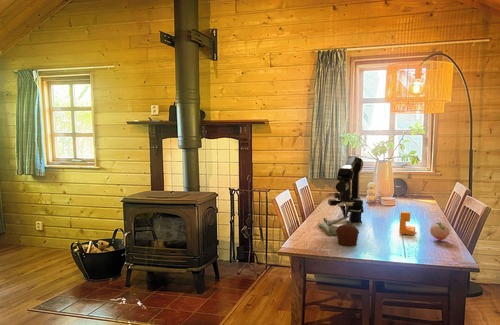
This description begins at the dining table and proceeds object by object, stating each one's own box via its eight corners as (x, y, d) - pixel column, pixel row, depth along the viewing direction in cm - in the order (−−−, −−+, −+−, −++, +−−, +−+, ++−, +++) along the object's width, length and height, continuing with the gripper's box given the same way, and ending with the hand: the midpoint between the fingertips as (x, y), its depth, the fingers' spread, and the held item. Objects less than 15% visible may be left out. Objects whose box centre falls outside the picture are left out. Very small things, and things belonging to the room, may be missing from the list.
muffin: (355, 240, 197) (355, 222, 196) (362, 247, 186) (362, 227, 185) (332, 241, 196) (333, 222, 196) (338, 247, 185) (338, 228, 184)
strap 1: (328, 226, 211) (327, 224, 211) (327, 225, 214) (326, 223, 214) (348, 217, 212) (348, 215, 212) (347, 216, 214) (346, 214, 214)
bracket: (413, 236, 204) (414, 214, 203) (399, 234, 207) (399, 213, 206) (415, 231, 213) (415, 210, 212) (401, 229, 217) (402, 209, 216)
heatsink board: (344, 224, 230) (344, 215, 229) (357, 235, 207) (357, 225, 207) (319, 225, 229) (319, 216, 228) (329, 235, 206) (329, 225, 206)
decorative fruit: (426, 238, 199) (427, 220, 198) (441, 238, 200) (441, 219, 199) (436, 243, 190) (437, 224, 189) (451, 243, 191) (452, 224, 190)
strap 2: (346, 220, 224) (346, 218, 224) (347, 221, 221) (347, 219, 221) (325, 221, 223) (325, 219, 223) (326, 222, 220) (326, 220, 220)
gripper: (356, 187, 220) (356, 213, 222) (325, 188, 219) (325, 214, 221) (363, 190, 209) (363, 217, 211) (330, 191, 208) (330, 218, 209)
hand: (345, 217), depth 213 cm, fingers closed, pressing on strap 1
